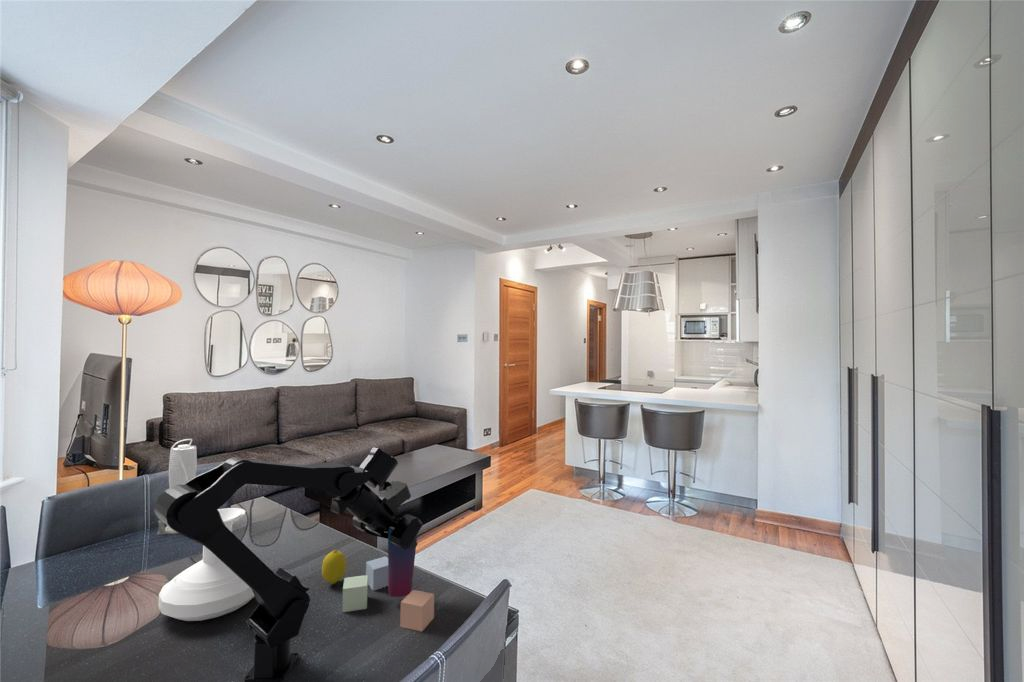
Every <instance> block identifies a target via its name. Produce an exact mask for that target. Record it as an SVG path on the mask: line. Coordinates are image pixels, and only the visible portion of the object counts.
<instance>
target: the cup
mask: <svg viewBox="0 0 1024 682" xmlns="http://www.w3.org/2000/svg"><path fill="white" fill-rule="evenodd" d="M401 518H402V517H401ZM401 518H399V519H401ZM393 530H394V529H391V528H390V529H389V531H388V539H387V558H388V586H387V587H388V588H387V589H388V595H389V596H391V597H394V598H402V597H407V596H408V595H409V594H410V593H411V592H412V588H413V578H414V569H415V559H416V552H417V549H416V548H417V547H416V548H408V549H406V550H404V549H402V548H399V547H397V546H395V545H392V542H390V534H391V533H392V531H393ZM415 539H416V541H417V540H418V534H417V535H416V537H415ZM417 542H418V541H417Z"/></svg>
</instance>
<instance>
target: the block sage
mask: <svg viewBox="0 0 1024 682" xmlns="http://www.w3.org/2000/svg"><path fill="white" fill-rule="evenodd" d="M368 589H369V586H368V575H366V574H365V575H357V576H356V575H355V576H350V577H349V576H348V577H344V579H343V586H342V602H341V603H342V607H341V608H342V613H348V612H354V611H355V612H356V611H361V610H366V609H367V608H368Z"/></svg>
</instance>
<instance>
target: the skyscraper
mask: <svg viewBox="0 0 1024 682" xmlns="http://www.w3.org/2000/svg"><path fill="white" fill-rule="evenodd" d="M184 441H185V442H186V441H190V442H189V443H188V444H179V443H181V442H184ZM192 442H193V438H184V439H181V440H178V441H176V442H175V443H174V444H173V445H172V446H171V447H170V453H169V458H168V459H169V460H168V485H169V488H171V487H173V486H177V485H183V484H184V483H186V482H188V481H189V480H191V479H192V478H194V477H196V476H197V467H198V466H197V465H198V464H197V462H198V460H197V459H198V456H197V455H198V453H197V446H196V445H192ZM177 444H179V445H177ZM176 445H177V447H175V446H176ZM157 524H158V529H157V533H156V536H157V535H159V536H160V535H175V534H179V533H178V532H176V531H175V530H173V529H172V528H170V527H169V526H168V525H166V524H165V523H164V522H163V521H162V520H160V519H159V518H158V523H157Z"/></svg>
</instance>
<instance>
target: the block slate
mask: <svg viewBox="0 0 1024 682" xmlns="http://www.w3.org/2000/svg"><path fill="white" fill-rule="evenodd" d="M365 575H368V585H369V586H370V587H369V586H368V587H369V588H370V589H371V590H372V591H373V592H375V591H377V590H378V591H379V590H380V589H383V587H384V588H387V587H388V556H386V555H385V556H382V557H378V558H375V559H372V560H368V561H366V563H365ZM386 586H387V587H386Z"/></svg>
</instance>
